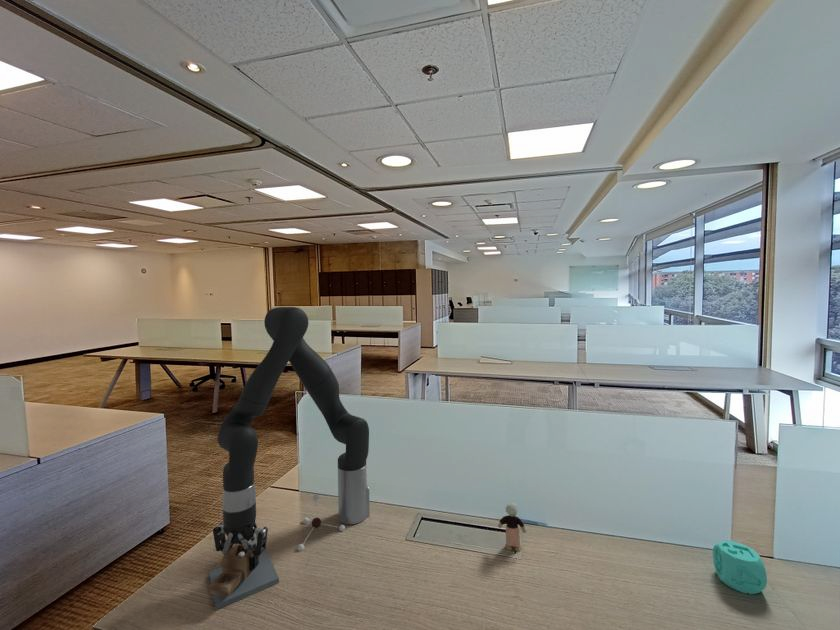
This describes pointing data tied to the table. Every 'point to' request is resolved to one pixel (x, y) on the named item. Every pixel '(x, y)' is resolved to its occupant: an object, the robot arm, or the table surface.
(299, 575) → the table surface
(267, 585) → the slate board
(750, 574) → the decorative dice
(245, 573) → the brown hollow open box
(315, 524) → the molecular model
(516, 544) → the grandmother figurine
